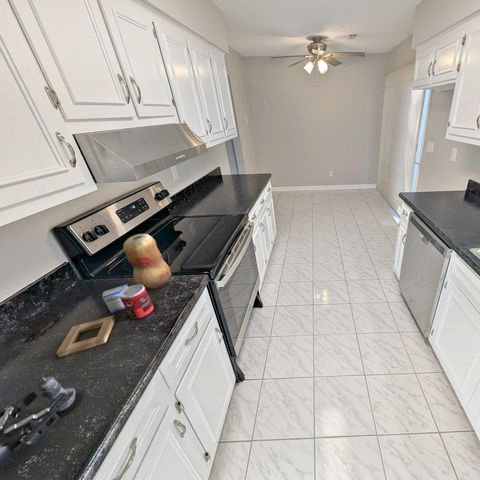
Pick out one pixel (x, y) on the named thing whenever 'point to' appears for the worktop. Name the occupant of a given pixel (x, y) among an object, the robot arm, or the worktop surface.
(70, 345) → the wooden frame
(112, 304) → the medicine box
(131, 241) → the butternut squash
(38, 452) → the worktop surface
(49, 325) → the can opener
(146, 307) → the canned food
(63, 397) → the robot arm
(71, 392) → the grey tall rounded piece
